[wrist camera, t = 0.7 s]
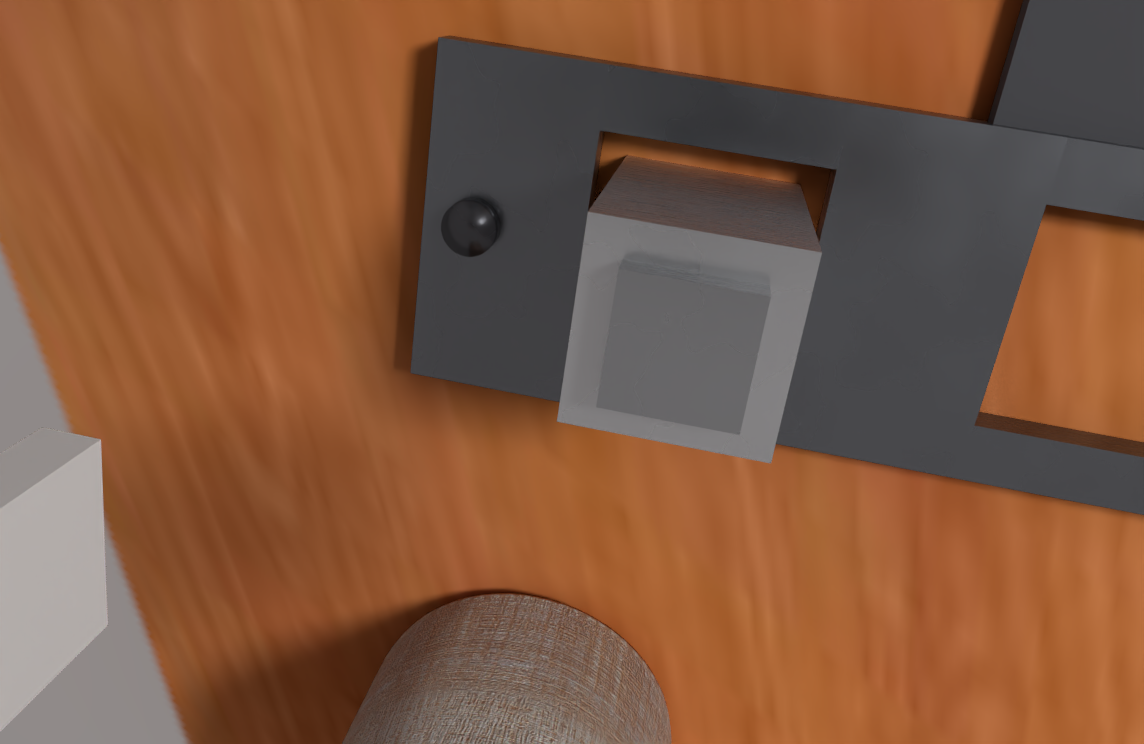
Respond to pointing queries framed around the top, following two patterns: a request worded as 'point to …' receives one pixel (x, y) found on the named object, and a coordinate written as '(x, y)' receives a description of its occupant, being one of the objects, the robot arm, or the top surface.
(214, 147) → the top surface
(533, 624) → the planter
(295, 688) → the top surface
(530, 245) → the rack rail
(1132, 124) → the rubber mat
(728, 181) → the grey square block
